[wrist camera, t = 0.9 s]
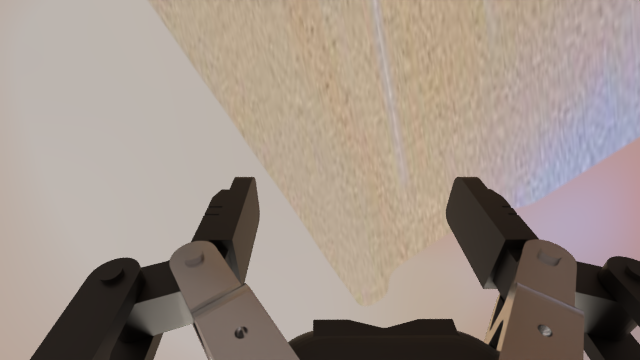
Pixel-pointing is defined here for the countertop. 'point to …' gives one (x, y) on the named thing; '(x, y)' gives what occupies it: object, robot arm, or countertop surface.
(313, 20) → the countertop surface
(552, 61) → the countertop surface
